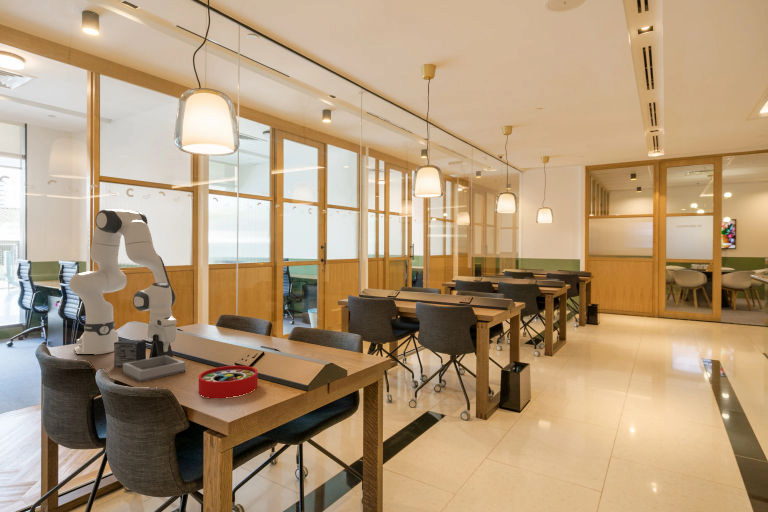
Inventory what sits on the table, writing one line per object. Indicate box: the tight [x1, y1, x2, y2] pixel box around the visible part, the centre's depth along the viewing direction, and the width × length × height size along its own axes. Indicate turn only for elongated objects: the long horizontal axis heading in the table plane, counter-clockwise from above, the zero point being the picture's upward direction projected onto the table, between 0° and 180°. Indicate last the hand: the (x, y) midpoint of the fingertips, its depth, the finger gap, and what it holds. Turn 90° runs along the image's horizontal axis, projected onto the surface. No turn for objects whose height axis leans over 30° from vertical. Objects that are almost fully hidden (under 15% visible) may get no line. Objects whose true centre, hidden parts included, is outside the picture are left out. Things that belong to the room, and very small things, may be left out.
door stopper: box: [148, 334, 174, 359], centre depth 187 cm, size 9×6×12 cm, turn 60°
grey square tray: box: [122, 355, 186, 383], centre depth 169 cm, size 17×17×4 cm
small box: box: [113, 339, 147, 368], centre depth 179 cm, size 11×6×10 cm, turn 84°
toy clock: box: [198, 365, 259, 399], centre depth 151 cm, size 20×6×20 cm
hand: (161, 349), depth 188 cm, fingers open, 7 cm apart
